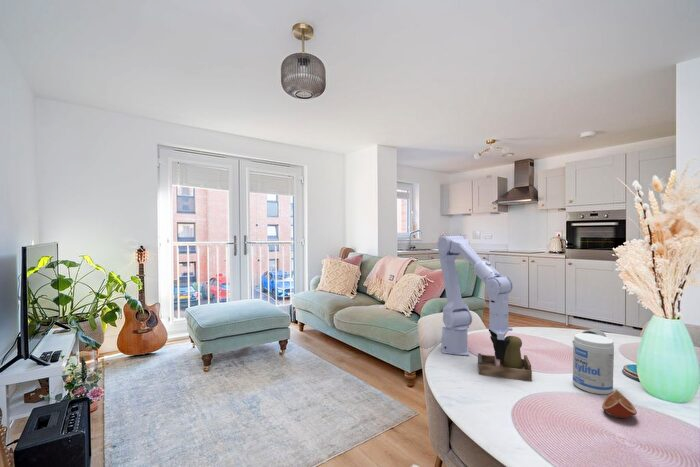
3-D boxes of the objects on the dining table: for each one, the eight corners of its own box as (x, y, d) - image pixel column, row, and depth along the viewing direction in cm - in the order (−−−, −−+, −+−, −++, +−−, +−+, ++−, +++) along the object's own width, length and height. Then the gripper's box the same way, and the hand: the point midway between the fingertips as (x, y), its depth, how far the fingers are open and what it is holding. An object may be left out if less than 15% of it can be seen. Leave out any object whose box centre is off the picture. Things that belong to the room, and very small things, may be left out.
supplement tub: (570, 388, 97) (570, 338, 97) (574, 377, 104) (574, 330, 104) (613, 399, 91) (613, 345, 91) (614, 386, 98) (614, 336, 98)
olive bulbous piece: (520, 367, 110) (520, 334, 110) (526, 375, 104) (526, 340, 104) (500, 366, 112) (500, 333, 111) (505, 374, 106) (505, 339, 105)
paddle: (496, 372, 106) (496, 360, 106) (494, 363, 113) (494, 352, 113) (499, 372, 106) (499, 361, 106) (497, 363, 113) (497, 352, 113)
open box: (479, 374, 107) (479, 360, 107) (478, 362, 116) (477, 349, 116) (531, 381, 102) (531, 366, 102) (526, 368, 111) (526, 354, 111)
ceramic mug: (608, 348, 129) (608, 328, 129) (602, 353, 124) (602, 333, 124) (576, 342, 137) (576, 323, 137) (569, 346, 132) (569, 327, 132)
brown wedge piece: (602, 404, 88) (602, 385, 88) (635, 412, 84) (635, 393, 84) (602, 418, 82) (602, 398, 82) (638, 428, 78) (638, 407, 78)
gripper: (515, 320, 101) (515, 365, 101) (509, 309, 115) (509, 348, 115) (490, 318, 103) (490, 362, 104) (487, 307, 117) (487, 346, 117)
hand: (498, 355), depth 109 cm, fingers open, 7 cm apart
